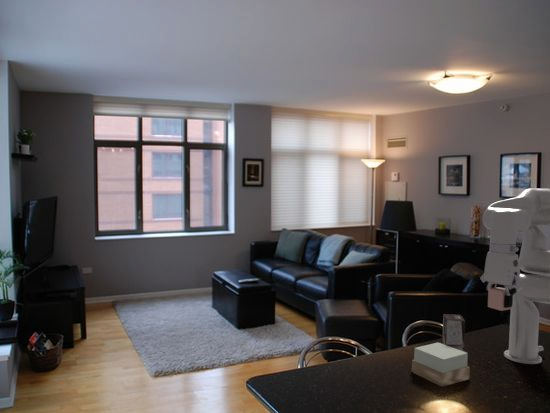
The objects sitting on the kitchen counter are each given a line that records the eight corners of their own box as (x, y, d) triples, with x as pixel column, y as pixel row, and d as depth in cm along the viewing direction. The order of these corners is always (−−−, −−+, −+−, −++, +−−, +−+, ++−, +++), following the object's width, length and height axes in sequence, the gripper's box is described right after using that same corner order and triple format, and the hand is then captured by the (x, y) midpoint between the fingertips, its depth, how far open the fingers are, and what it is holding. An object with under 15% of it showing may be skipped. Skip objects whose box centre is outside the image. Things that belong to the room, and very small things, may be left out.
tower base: (438, 366, 172) (439, 354, 171) (469, 380, 160) (469, 367, 160) (411, 373, 165) (412, 360, 165) (441, 387, 154) (442, 373, 154)
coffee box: (463, 366, 172) (465, 321, 171) (444, 364, 173) (446, 319, 172) (459, 357, 181) (461, 314, 180) (441, 355, 182) (443, 313, 181)
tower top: (437, 354, 171) (438, 342, 170) (467, 366, 160) (467, 353, 160) (414, 361, 164) (414, 347, 164) (443, 373, 154) (443, 359, 154)
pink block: (497, 305, 159) (498, 287, 158) (511, 308, 154) (512, 290, 154) (487, 306, 156) (488, 288, 156) (501, 310, 152) (502, 292, 152)
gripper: (535, 251, 149) (532, 310, 150) (487, 244, 164) (484, 297, 165) (519, 253, 145) (516, 313, 146) (472, 245, 160) (469, 300, 161)
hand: (499, 304), depth 155 cm, fingers closed on pink block, 5 cm apart
